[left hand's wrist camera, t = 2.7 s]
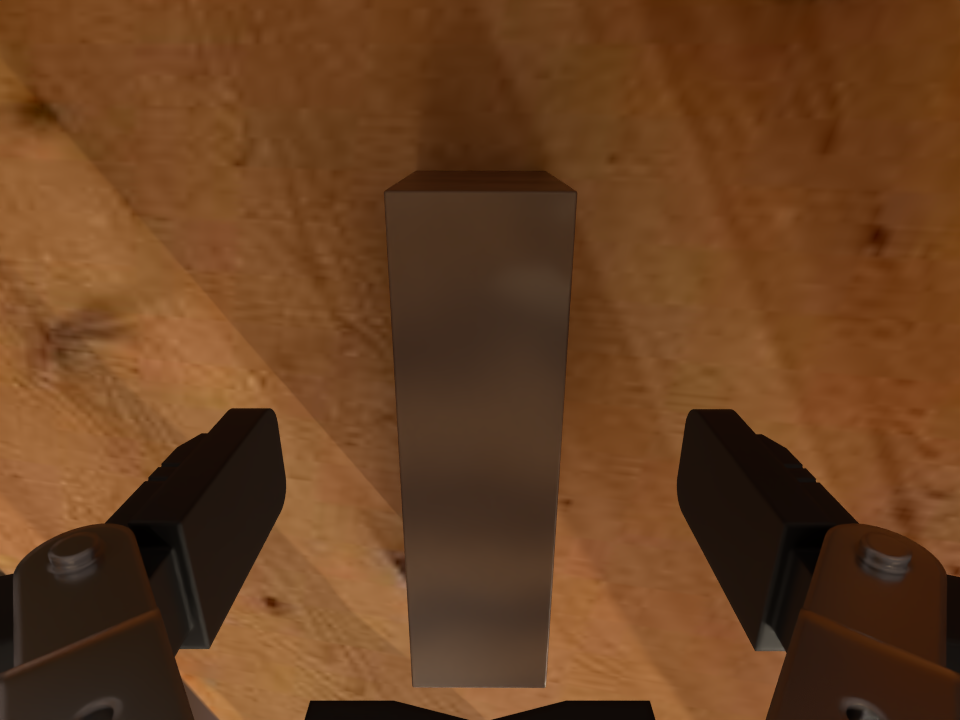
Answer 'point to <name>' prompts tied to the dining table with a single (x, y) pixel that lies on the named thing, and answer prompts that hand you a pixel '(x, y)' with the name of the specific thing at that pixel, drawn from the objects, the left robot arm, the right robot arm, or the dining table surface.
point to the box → (479, 414)
